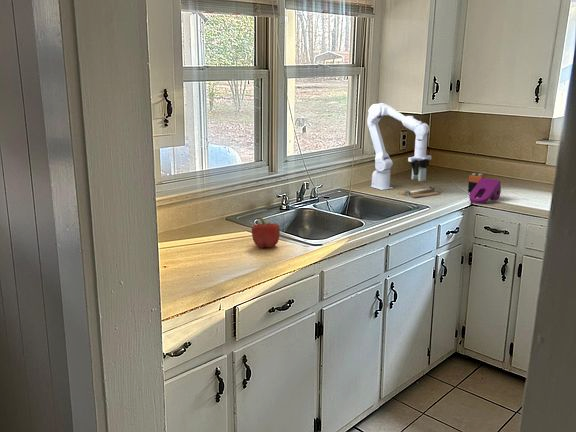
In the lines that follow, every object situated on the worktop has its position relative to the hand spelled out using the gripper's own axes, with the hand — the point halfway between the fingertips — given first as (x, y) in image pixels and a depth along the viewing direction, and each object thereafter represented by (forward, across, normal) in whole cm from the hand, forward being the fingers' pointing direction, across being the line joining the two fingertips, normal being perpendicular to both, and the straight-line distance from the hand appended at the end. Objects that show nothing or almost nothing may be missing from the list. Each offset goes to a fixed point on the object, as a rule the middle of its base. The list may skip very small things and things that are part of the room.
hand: (418, 174), depth 297 cm
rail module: (+2, 0, 0) cm, 2 cm away
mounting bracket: (+10, +16, -28) cm, 34 cm away
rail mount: (+9, -1, -3) cm, 10 cm away
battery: (+10, +27, -15) cm, 32 cm away
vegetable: (+10, -112, -34) cm, 117 cm away
